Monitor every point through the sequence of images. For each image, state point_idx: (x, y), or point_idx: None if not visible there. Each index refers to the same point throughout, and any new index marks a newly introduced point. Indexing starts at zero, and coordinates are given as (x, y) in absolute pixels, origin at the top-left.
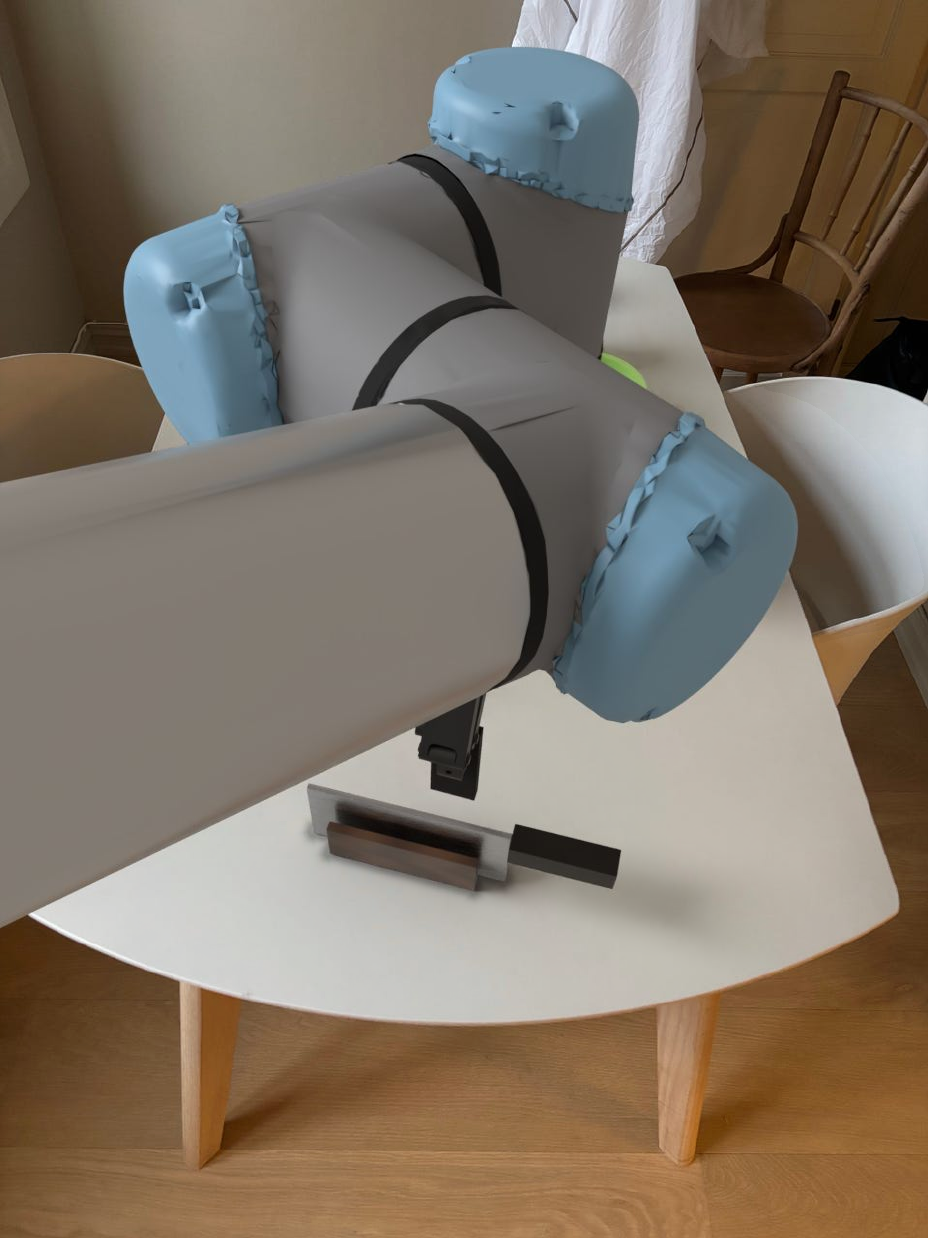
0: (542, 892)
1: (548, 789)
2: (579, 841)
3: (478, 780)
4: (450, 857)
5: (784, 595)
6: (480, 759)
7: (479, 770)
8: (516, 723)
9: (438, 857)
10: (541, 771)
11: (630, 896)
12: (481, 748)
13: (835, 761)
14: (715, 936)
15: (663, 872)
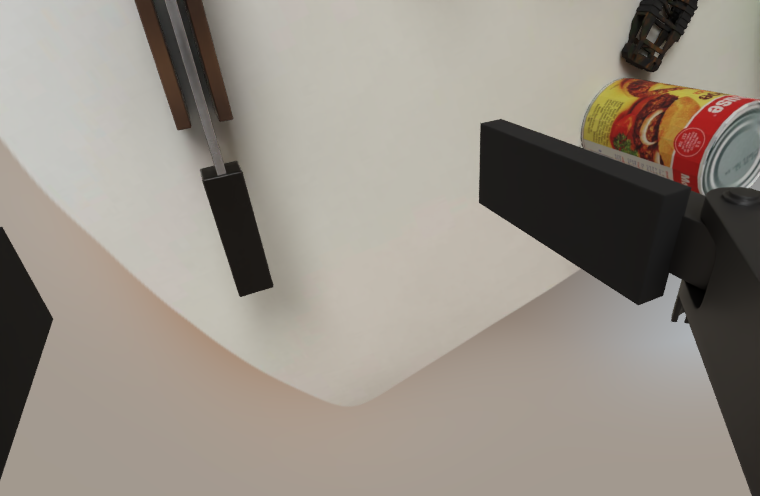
0: None
1: (340, 139)
2: (259, 247)
3: (43, 345)
4: (171, 92)
5: None
6: (20, 413)
7: (34, 374)
8: (408, 68)
9: (161, 76)
10: (359, 122)
11: None
12: (6, 456)
13: (460, 339)
14: (264, 332)
15: (302, 274)
